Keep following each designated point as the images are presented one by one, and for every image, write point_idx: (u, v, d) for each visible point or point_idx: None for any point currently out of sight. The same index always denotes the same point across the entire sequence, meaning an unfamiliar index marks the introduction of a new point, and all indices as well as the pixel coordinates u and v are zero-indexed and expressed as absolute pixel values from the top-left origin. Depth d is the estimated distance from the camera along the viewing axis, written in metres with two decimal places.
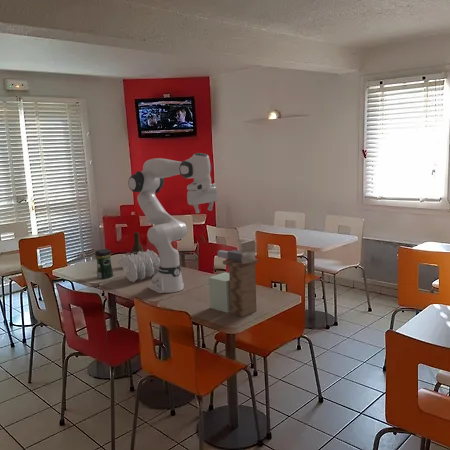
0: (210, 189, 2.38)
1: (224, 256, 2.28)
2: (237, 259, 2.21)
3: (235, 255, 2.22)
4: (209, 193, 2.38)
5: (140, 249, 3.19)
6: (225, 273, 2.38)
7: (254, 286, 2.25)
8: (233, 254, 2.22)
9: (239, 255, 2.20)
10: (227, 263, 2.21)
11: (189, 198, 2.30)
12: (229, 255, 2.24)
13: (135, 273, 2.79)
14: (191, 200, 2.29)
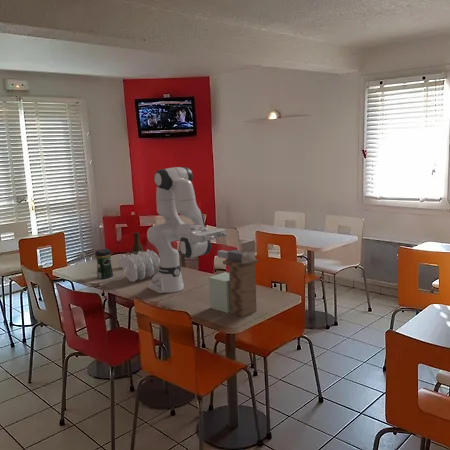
0: None
1: (224, 256, 2.28)
2: (237, 259, 2.21)
3: (235, 255, 2.22)
4: (210, 231, 2.39)
5: (140, 249, 3.19)
6: (225, 273, 2.38)
7: (254, 286, 2.25)
8: (233, 254, 2.22)
9: (239, 255, 2.20)
10: (227, 263, 2.21)
11: (194, 239, 2.30)
12: (229, 255, 2.24)
13: (135, 273, 2.79)
14: (195, 236, 2.29)
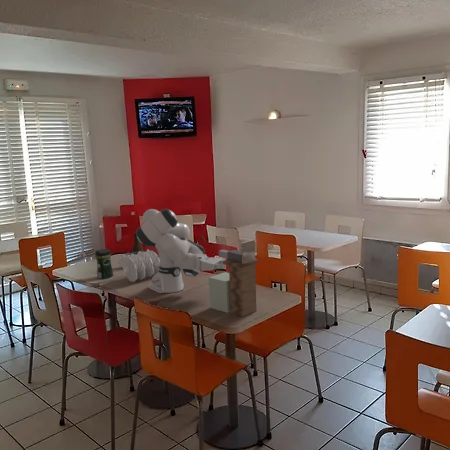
0: (208, 258, 2.52)
1: (225, 256, 2.29)
2: (236, 259, 2.21)
3: (234, 255, 2.21)
4: (212, 259, 2.50)
5: (140, 249, 3.19)
6: (225, 273, 2.38)
7: (254, 286, 2.25)
8: (232, 254, 2.22)
9: (237, 255, 2.19)
10: (227, 263, 2.21)
11: (206, 267, 2.38)
12: (229, 255, 2.25)
13: (135, 273, 2.79)
14: (208, 264, 2.37)
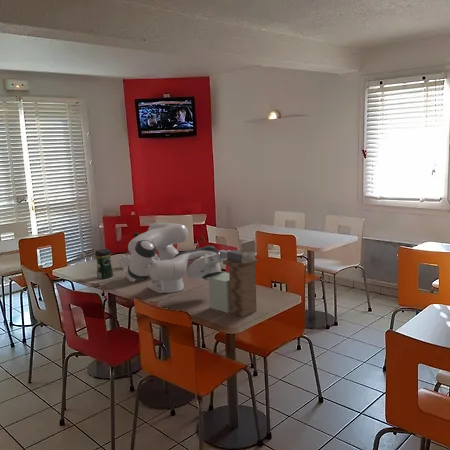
0: None
1: (224, 256, 2.29)
2: (236, 259, 2.21)
3: (234, 255, 2.21)
4: None
5: None
6: (225, 273, 2.38)
7: (254, 286, 2.25)
8: (232, 254, 2.22)
9: (238, 255, 2.19)
10: (227, 263, 2.21)
11: (200, 264, 2.29)
12: (229, 255, 2.24)
13: None
14: (200, 260, 2.29)
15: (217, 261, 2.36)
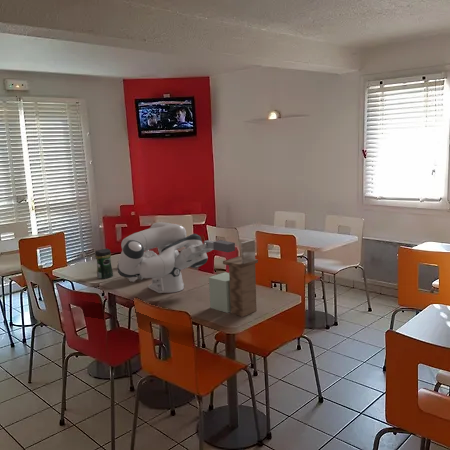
0: None
1: (210, 246, 2.35)
2: (222, 249, 2.27)
3: (220, 245, 2.28)
4: None
5: None
6: (225, 273, 2.38)
7: (254, 286, 2.25)
8: (219, 244, 2.29)
9: (224, 245, 2.26)
10: (227, 263, 2.21)
11: (186, 253, 2.35)
12: (215, 245, 2.31)
13: None
14: (186, 250, 2.35)
15: (203, 251, 2.42)
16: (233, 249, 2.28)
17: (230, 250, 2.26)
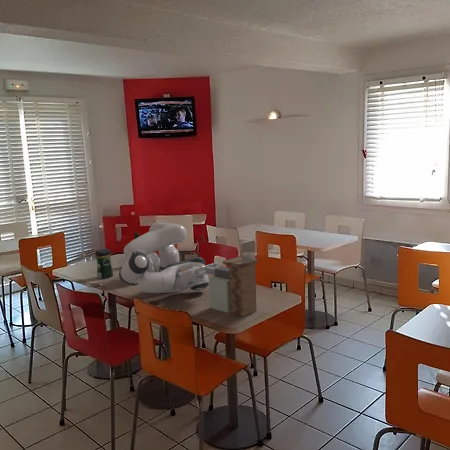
0: None
1: (211, 272, 2.37)
2: (224, 276, 2.29)
3: (222, 272, 2.30)
4: None
5: None
6: None
7: (254, 286, 2.25)
8: (220, 271, 2.31)
9: (225, 272, 2.28)
10: (227, 263, 2.21)
11: (187, 276, 2.37)
12: (216, 272, 2.33)
13: None
14: (187, 273, 2.37)
15: (204, 273, 2.44)
16: None
17: None
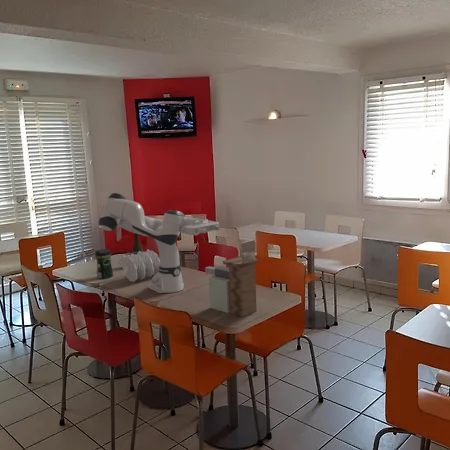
0: None
1: (211, 272, 2.37)
2: (224, 276, 2.29)
3: (222, 272, 2.30)
4: None
5: (140, 249, 3.19)
6: None
7: (254, 286, 2.25)
8: (220, 271, 2.31)
9: (225, 272, 2.28)
10: (227, 263, 2.21)
11: None
12: (216, 272, 2.33)
13: (135, 273, 2.79)
14: None
15: (201, 225, 2.37)
16: None
17: None
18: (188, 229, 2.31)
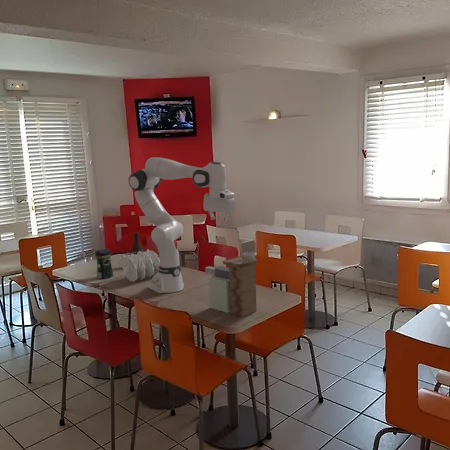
0: None
1: (211, 272, 2.37)
2: (224, 276, 2.29)
3: (222, 272, 2.30)
4: None
5: (140, 249, 3.19)
6: None
7: (254, 286, 2.25)
8: (220, 271, 2.31)
9: (225, 272, 2.28)
10: (227, 263, 2.21)
11: (232, 206, 2.29)
12: (216, 272, 2.33)
13: (135, 273, 2.79)
14: (234, 207, 2.30)
15: (215, 207, 2.36)
16: None
17: None
18: None
